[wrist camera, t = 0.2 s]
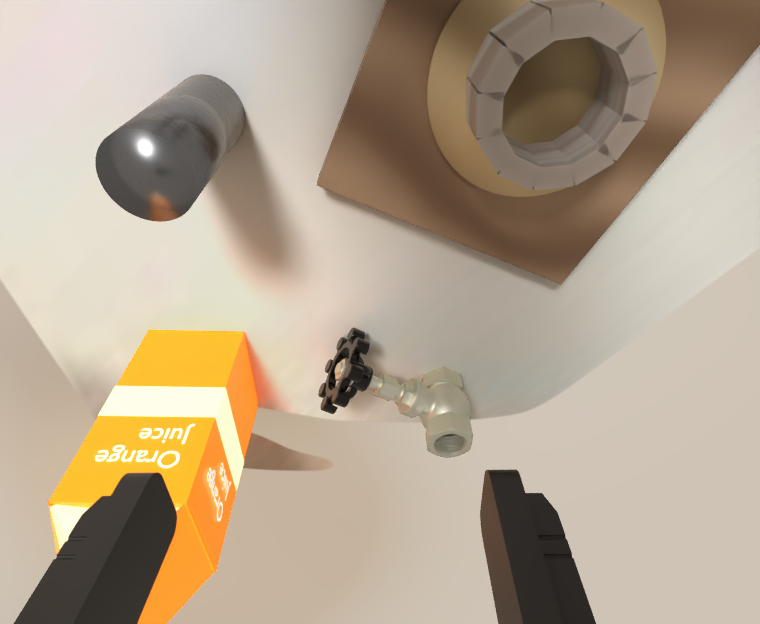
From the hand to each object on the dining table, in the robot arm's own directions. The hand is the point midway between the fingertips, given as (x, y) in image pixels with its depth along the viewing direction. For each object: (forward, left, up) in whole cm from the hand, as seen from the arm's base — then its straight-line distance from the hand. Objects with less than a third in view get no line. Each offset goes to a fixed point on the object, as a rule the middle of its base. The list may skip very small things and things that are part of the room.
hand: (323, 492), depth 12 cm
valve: (+15, +10, -22) cm, 29 cm away
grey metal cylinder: (+1, -9, -22) cm, 24 cm away
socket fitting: (-8, +7, -22) cm, 25 cm away
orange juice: (+22, -5, -22) cm, 31 cm away
